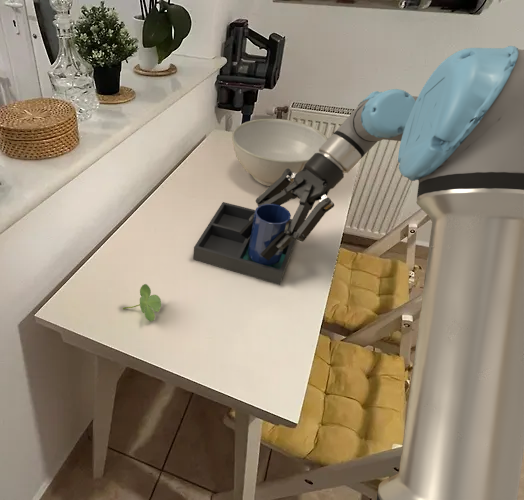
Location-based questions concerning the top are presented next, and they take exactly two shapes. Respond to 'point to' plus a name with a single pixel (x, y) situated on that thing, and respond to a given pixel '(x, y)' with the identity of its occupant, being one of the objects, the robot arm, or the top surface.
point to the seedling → (148, 303)
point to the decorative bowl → (275, 147)
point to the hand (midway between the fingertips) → (253, 246)
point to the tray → (236, 245)
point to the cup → (267, 231)
